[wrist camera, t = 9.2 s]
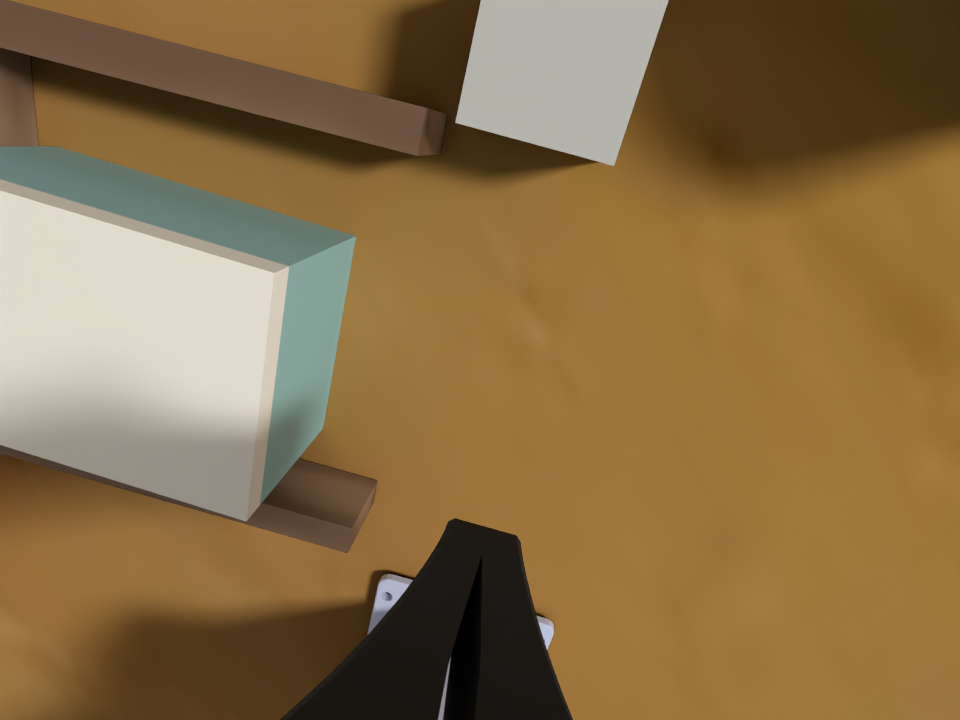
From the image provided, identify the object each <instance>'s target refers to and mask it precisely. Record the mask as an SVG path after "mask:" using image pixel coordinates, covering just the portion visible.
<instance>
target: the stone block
mask: <svg viewBox="0 0 960 720" xmlns="http://www.w3.org/2000/svg"><path fill="white" fill-rule="evenodd" d="M668 1H669V0H481V2H480V7H479V12H478V17H477V21H476V26H475V31H474V36H473V40H472V45H471V50H470V55H469V59H468V64H467V69H466V74H465V79H464V83H463V88H462V93H461V98H460V102H459V107H458V112H457V117H456V122H455V123H458V124H461V125H465V126H469V127H473V128H476V129H480V130H484V131H487V132H491V133H495V134H498V135H502V136H506V137H509V138H513V139H517V140H520V141H524V142H528V143H531V144H535V145H539V146H542V147H546V148H550V149H554V150H557V151H561V152H565V153H568V154H572V155H576V156H579V157H583V158H587V159H590V160H594V161H598V162H601V163H605V164H609V165H612V166H614V164H615V161H616V158H617V155H618V152H619V149H620V146H621V143H622V140H623V137H624V134H625V131H626V128H627V125H628V122H629V119H630V116H631V113H632V110H633V107H634V104H635V101H636V98H637V95H638V92H639V89H640V86H641V83H642V79H643V76H644V73H645V70H646V67H647V64H648V61H649V58H650V55H651V52H652V49H653V46H654V43H655V40H656V37H657V34H658V31H659V28H660V25H661V22H662V19H663V16H664V13H665V10H666V7H667V4H668Z"/></svg>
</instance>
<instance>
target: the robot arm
mask: <svg viewBox="0 0 960 720" xmlns="http://www.w3.org/2000/svg"><path fill="white" fill-rule="evenodd" d="M385 592H388V593H390V594H387V593H385ZM553 633H554V626H553V623H552V622H551V621H550V620H548V619H546V618H543V617H540V616H536V612H535V609H534V605H533V601H532V598H531V594H530V590H529V585H528V581H527V577H526V572H525V568H524V562H523V557H522V551H521V542H520V540H519V539H518V537H517V536H516V535H513V534H509V533H506V532H502V531H498V530H495V529H491V528H488V527H484V526H481V525H477V524H473V523H470V522H466V521H463V520H459V519H456V518H455V519H453V520H450V521H448V523H447V526H446V529H445V531H444V533H443V535H442V537H441V539H440V541H439V542H438V544H437V546H436V547H435V549H434V551H433V552H432V554H431V555H430V557H429V558H428V560H427V561H426V563H425V564H424V566H423V567H422V569H421V570H420V571H419V573H418V574H417V575H416V577H415V578H414V580H411V579H407V578H404V577H400V576H397V575H393V574H385V575H383V576H382V577H381V579H380V581H379V583H378V587H377V592H376V596H375V601H374V606H373V611H372V615H371V620H370V625H369V629H368V634H367V636H366V637H365V638H364V640H363V641H362V642H361V643H360V644H359V645H358V646H357V647H356V648H355V649H354V650H353V651H352V652H351V653H350V654H349V655H348V656H347V657H346V658H345V659H344V660H343V661H342V662H341V663H340V664H339V665H338V666H337V667H336V668H335V669H334V670H333V671H332V672H331V673H330V674H329V675H328V676H327V677H326V678H325V679H324V680H323V681H322V682H321V683H320V684H319V685H318V686H317V687H315V688H314V689H313V690H312V691H311V692H310V693H309V694H308V695H307V696H306V697H305V698H304V699H302V700H301V701H300V702H299V703H298V704H297V705H296V706H295V707H294V708H293V709H291V710H290V711H289V712H288V713H287V714H286V715H285V716H283V717H282V718H281V719H280V720H573V719H572V716H571V714H570V711H569V709H568V706H567V704H566V701H565V699H564V696H563V693H562V691H561V688H560V685H559V683H558V680H557V677H556V674H555V672H554V669H553V666H552V663H551V660H550V657H549V654H548V651H547V649H548V646H549V644H550V642H551V639H552V637H553Z"/></svg>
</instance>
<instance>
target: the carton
mask: <svg viewBox="0 0 960 720" xmlns="http://www.w3.org/2000/svg"><path fill="white" fill-rule="evenodd" d="M355 239H356V236H354V235H351V234H348V233H344V232H341V231H338V230H334V229H331V228H328V227H324V226H321V225H318V224H314V223H311V222H308V221H304V220H301V219H298V218H294V217H291V216H288V215H284V214H281V213H277V212H274V211H271V210H267V209H264V208H261V207H257V206H254V205H251V204H247V203H244V202H241V201H237V200H234V199H231V198H227V197H224V196H221V195H217V194H214V193H211V192H207V191H204V190H201V189H197V188H194V187H191V186H187V185H184V184H181V183H177V182H174V181H171V180H167V179H164V178H161V177H157V176H154V175H151V174H147V173H144V172H141V171H137V170H134V169H131V168H127V167H124V166H121V165H117V164H114V163H110V162H107V161H104V160H100V159H97V158H94V157H90V156H87V155H84V154H80V153H77V152H74V151H70V150H67V149H64V148H60V147H57V146H20V147H0V445H2V446H5V447H9V448H12V449H15V450H18V451H22V452H25V453H28V454H31V455H34V456H38V457H41V458H44V459H47V460H50V461H54V462H57V463H60V464H63V465H66V466H70V467H73V468H76V469H79V470H82V471H86V472H89V473H92V474H95V475H99V476H102V477H105V478H108V479H111V480H115V481H118V482H121V483H124V484H127V485H131V486H134V487H137V488H140V489H143V490H147V491H150V492H153V493H156V494H159V495H163V496H166V497H169V498H172V499H176V500H179V501H182V502H185V503H188V504H192V505H195V506H198V507H201V508H204V509H208V510H211V511H214V512H217V513H220V514H224V515H227V516H230V517H233V518H236V519H240V520H243V521H247V520H248V519H249V518H250V517H251V515H252V514H253V513H254V512H255V510H256V509H257V508H258V507H259V506H260V504H261V503H262V502H263V501H264V500H265V498H266V497H267V496H268V495H269V493H270V492H271V491H272V490H273V489H274V487H275V486H276V485H277V484H278V483H279V481H280V480H281V479H282V478H283V476H284V475H285V474H286V473H287V472H288V470H289V469H290V468H291V467H292V466H293V464H294V463H295V462H296V461H297V459H298V458H299V457H300V456H301V455H302V453H303V452H304V451H305V450H306V449H307V447H308V446H309V445H310V444H311V442H312V441H313V440H314V439H315V438H316V436H317V435H318V434H319V433H320V431H321V430H322V429H323V426H324V420H325V414H326V408H327V403H328V397H329V391H330V385H331V379H332V373H333V368H334V362H335V356H336V350H337V344H338V338H339V333H340V327H341V321H342V315H343V309H344V303H345V298H346V292H347V286H348V280H349V274H350V268H351V263H352V257H353V251H354V245H355Z"/></svg>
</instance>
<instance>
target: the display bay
mask: <svg viewBox="0 0 960 720" xmlns="http://www.w3.org/2000/svg"><path fill="white" fill-rule="evenodd" d="M30 55H31V56H35V57H38V58H42V59H46V60H50V61H54V62H58V63H62V64H65V65H69V66H73V67H77V68H81V69H85V70H88V71H92V72H96V73H100V74H104V75H108V76H111V77H115V78H119V79H123V80H127V81H131V82H135V83H138V84H142V85H146V86H150V87H154V88H158V89H161V90H165V91H169V92H173V93H177V94H181V95H185V96H188V97H192V98H196V99H200V100H204V101H208V102H211V103H215V104H219V105H223V106H227V107H231V108H235V109H238V110H242V111H246V112H250V113H254V114H258V115H261V116H265V117H269V118H273V119H277V120H281V121H284V122H288V123H292V124H296V125H300V126H304V127H308V128H311V129H315V130H319V131H323V132H327V133H331V134H334V135H338V136H342V137H346V138H350V139H354V140H358V141H361V142H365V143H369V144H373V145H377V146H381V147H384V148H388V149H392V150H396V151H400V152H404V153H408V154H411V155H415V156H425V155H439V154H440V151H441V146H442V141H443V136H444V131H445V125H446V120H447V115H448V114H446V113H442V112H439V111H435V110H432V109H429V108H425V107H421V106H417V105H413V104H409V103H406V102H402V101H398V100H394V99H390V98H386V97H382V96H378V95H374V94H371V93H367V92H363V91H359V90H355V89H351V88H347V87H343V86H339V85H336V84H332V83H328V82H324V81H320V80H316V79H312V78H308V77H304V76H300V75H297V74H293V73H289V72H285V71H281V70H277V69H273V68H269V67H265V66H262V65H258V64H254V63H250V62H246V61H242V60H238V59H234V58H230V57H227V56H223V55H219V54H215V53H211V52H207V51H203V50H199V49H195V48H191V47H188V46H184V45H180V44H176V43H172V42H168V41H164V40H160V39H156V38H153V37H149V36H145V35H141V34H137V33H133V32H129V31H125V30H121V29H118V28H114V27H110V26H106V25H102V24H98V23H94V22H90V21H86V20H83V19H79V18H75V17H71V16H67V15H63V14H59V13H55V12H51V11H47V10H44V9H40V8H36V7H32V6H28V5H24V4H20V3H16V2H12V1H9V0H0V147H20V146H38V137H37V126H36V115H35V105H34V94H33V83H32V72H31V62H30ZM0 454H3V455H7V456H10V457H14V458H17V459H21V460H24V461H28V462H31V463H35V464H38V465H41V466H45V467H48V468H52V469H55V470H59V471H62V472H66V473H69V474H73V475H76V476H80V477H83V478H87V479H90V480H94V481H97V482H101V483H104V484H108V485H111V486H115V487H118V488H122V489H125V490H129V491H132V492H136V493H139V494H143V495H146V496H150V497H153V498H157V499H160V500H164V501H167V502H171V503H174V504H178V505H181V506H185V507H188V508H192V509H195V510H199V511H202V512H206V513H209V514H212V515H216V516H219V517H223V518H226V519H230V520H233V521H237V522H240V523H244V524H247V525H251V526H254V527H258V528H261V529H265V530H268V531H272V532H275V533H279V534H282V535H286V536H289V537H293V538H296V539H300V540H303V541H307V542H310V543H314V544H317V545H321V546H324V547H328V548H331V549H335V550H338V551H342V552H345V553H348V552H349V550H350V548H351V546H352V544H353V542H354V540H355V538H356V536H357V534H358V532H359V530H360V528H361V526H362V524H363V522H364V520H365V518H366V516H367V514H368V512H369V511H370V509H371V507H372V505H373V502H374V496H375V491H376V486H377V480H373V479H370V478H366V477H363V476H359V475H356V474H352V473H348V472H345V471H341V470H338V469H334V468H331V467H327V466H324V465H320V464H316V463H313V462H309V461H306V460H302V459H299V458H298V459H297V461H296V462H295V463H294V464H293V466H292V467H291V468H290V469H289V470H288V472H287V473H286V474H285V475H284V476H283V478H282V479H281V480H280V481H279V483H278V484H277V485H276V486H275V487H274V489H273V490H272V491H271V492H270V493H269V495H268V496H267V497H266V498H265V500H264V501H263V502H262V503H261V504H260V506H259V507H258V508H257V509H256V510H255V512H254V513H253V514H252V515H251V517H250V518H249V519H248V520H247V521H243V520H240V519H236V518H233V517H230V516H227V515H224V514H220V513H217V512H214V511H211V510H208V509H204V508H201V507H198V506H195V505H192V504H188V503H185V502H182V501H179V500H176V499H172V498H169V497H166V496H163V495H159V494H156V493H153V492H150V491H147V490H143V489H140V488H137V487H134V486H131V485H127V484H124V483H121V482H118V481H115V480H111V479H108V478H105V477H102V476H99V475H95V474H92V473H89V472H86V471H82V470H79V469H76V468H73V467H70V466H66V465H63V464H60V463H57V462H54V461H50V460H47V459H44V458H41V457H38V456H34V455H31V454H28V453H25V452H22V451H18V450H15V449H12V448H9V447H5V446H2V445H0Z"/></svg>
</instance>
